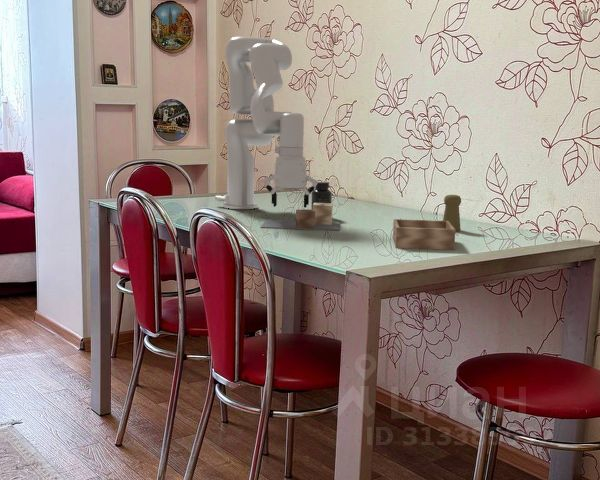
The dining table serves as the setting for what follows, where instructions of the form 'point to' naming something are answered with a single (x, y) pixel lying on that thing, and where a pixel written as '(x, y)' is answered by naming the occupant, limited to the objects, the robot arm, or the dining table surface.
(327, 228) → the mat
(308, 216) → the walnut block
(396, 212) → the dining table surface
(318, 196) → the supplement bottle
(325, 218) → the maple block
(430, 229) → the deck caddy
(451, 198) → the cork
